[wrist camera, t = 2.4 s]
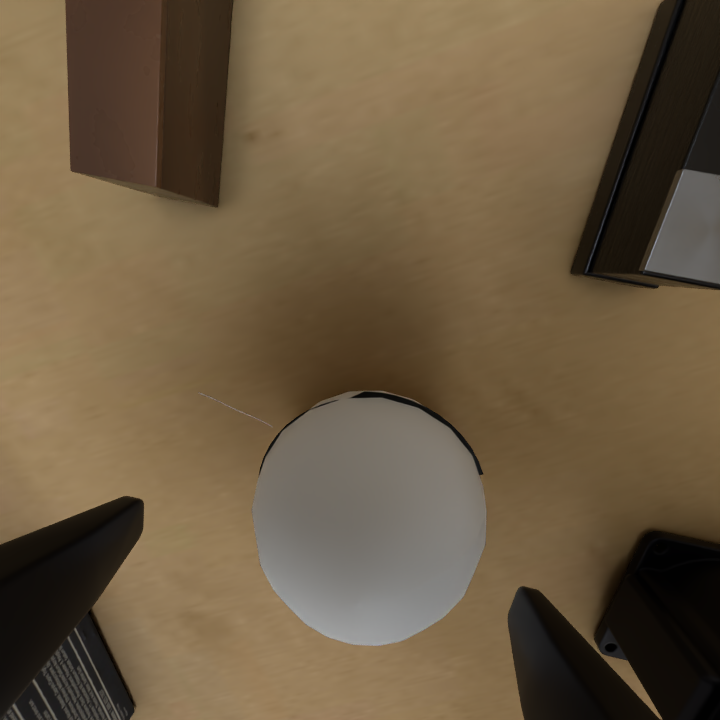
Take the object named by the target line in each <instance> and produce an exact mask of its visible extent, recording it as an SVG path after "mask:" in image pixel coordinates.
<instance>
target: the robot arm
mask: <svg viewBox="0 0 720 720" xmlns="http://www.w3.org/2000/svg"><path fill="white" fill-rule="evenodd" d="M143 521H144V503H143V501H142V500H141V499H139V498H134V497H130V496H124V497H121V498H118V499H116V500H113V501H111V502H108V503H105V504H103V505H100V506H98V507H95V508H93V509H90V510H88V511H85V512H83V513H80V514H77V515H75V516H72V517H70V518H67V519H65V520H62V521H60V522H57V523H55V524H52V525H49V526H47V527H44V528H42V529H39V530H37V531H34V532H32V533H29V534H27V535H24V536H21V537H19V538H16V539H14V540H11V541H9V542H6V543H4V544H1V545H0V720H1V719H2V718H3V717H4V716H5V714H6V713H7V712H8V711H9V709H10V708H11V707H12V706H13V704H14V703H15V702H16V701H17V699H18V698H19V697H20V696H21V695H22V693H23V692H24V691H25V690H26V688H27V687H28V686H29V685H30V683H31V682H32V681H33V680H34V678H35V677H36V676H37V675H38V673H39V672H40V671H41V670H42V669H43V667H44V666H45V665H46V664H47V662H48V661H49V660H50V659H51V657H52V656H53V655H54V654H55V652H56V651H57V650H58V649H59V647H60V646H61V645H62V644H63V643H64V641H65V640H66V639H67V638H68V636H69V635H70V634H71V633H72V631H73V630H74V629H75V628H76V626H77V625H78V624H79V623H80V621H81V620H82V619H83V618H84V617H85V615H86V614H87V613H88V611H89V610H90V609H91V608H92V606H93V605H94V604H95V602H96V601H97V600H98V598H99V597H100V595H101V594H102V593H103V591H104V590H105V588H106V587H107V585H108V584H109V582H110V581H111V579H112V578H113V576H114V575H115V573H116V572H117V570H118V569H119V567H120V566H121V565H122V563H123V562H124V560H125V559H126V557H127V556H128V554H129V553H130V551H131V550H132V548H133V547H134V545H135V544H136V542H137V541H138V539H139V538H140V536H141V534H142V531H143ZM657 544H659V545H657ZM656 545H657V546H656ZM508 628H509V634H510V640H511V646H512V653H513V659H514V665H515V671H516V678H517V684H518V690H519V696H520V701H521V707H522V711H523V716H524V720H660V719H659V718H658V717H657V716H656V715H655V714H654V713H653V712H652V711H651V709H650V708H649V707H648V706H647V705H646V704H645V703H644V702H643V701H642V700H641V699H640V698H639V697H638V696H637V694H636V693H635V692H634V691H633V690H632V689H631V688H630V687H629V686H628V685H627V684H626V683H625V682H624V681H623V679H622V678H621V677H620V676H619V675H618V674H617V673H616V672H615V671H614V670H613V669H612V668H611V667H610V666H609V664H608V663H607V662H606V661H605V660H604V659H603V658H602V657H601V656H600V655H599V654H598V653H597V652H596V651H595V649H594V648H593V647H592V646H591V645H590V644H589V643H588V642H587V641H586V640H585V639H584V638H583V637H582V636H581V634H580V633H579V632H578V631H577V630H576V629H575V628H574V627H573V626H572V625H571V624H570V623H569V622H568V621H567V619H566V618H565V617H564V616H563V615H562V614H561V613H560V612H559V611H558V610H557V609H556V608H555V607H554V606H553V604H552V603H551V602H550V601H549V600H548V599H547V598H546V597H545V596H544V595H543V594H542V593H541V592H540V591H539V590H536V589H533V588H528V587H524V586H522V587H519V588H518V590H517V592H516V595H515V597H514V600H513V602H512V605H511V608H510V610H509V613H508ZM594 640H595V643H596V645H597V646H598V648H599V650H600V652H601V653H602V654H604V655H607V656H611V657H615V658H619V659H624V660H628V662H629V663H630V665H631V667H632V668H633V670H634V672H635V673H636V675H637V677H638V678H639V680H640V682H641V684H642V685H643V687H644V689H645V690H646V692H647V694H648V695H649V697H650V699H651V700H652V702H653V704H654V705H655V707H656V709H657V711H658V712H659V714H660V716H661V717H662V719H663V720H720V544H715V543H710V542H706V541H701V540H697V539H692V538H687V537H683V536H678V535H673V534H669V533H664V532H660V531H652V532H649V533H647V534H645V535H644V537H643V538H642V539H641V542H640V544H639V546H638V548H637V550H636V552H635V554H634V556H633V558H632V560H631V562H630V564H629V566H628V568H627V571H626V573H625V575H624V577H623V579H622V581H621V583H620V585H619V587H618V589H617V591H616V593H615V595H614V598H613V600H612V602H611V604H610V606H609V608H608V610H607V612H606V614H605V616H604V618H603V620H602V622H601V624H600V627H599V629H598V631H597V633H596V635H595V638H594Z"/></svg>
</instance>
